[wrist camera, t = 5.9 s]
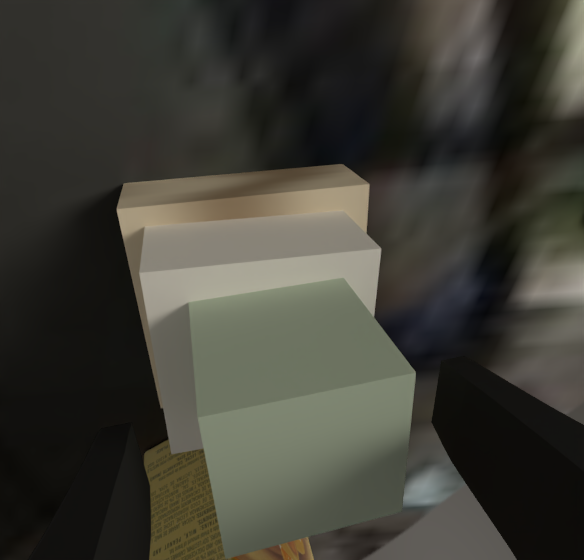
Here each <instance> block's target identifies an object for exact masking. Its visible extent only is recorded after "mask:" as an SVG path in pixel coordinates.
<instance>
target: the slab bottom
mask: <svg viewBox="0 0 584 560" xmlns="http://www.w3.org/2000/svg"><path fill="white" fill-rule="evenodd" d="M368 201H369V183H367V182H366V181H365V180H363V179H362V178H361V177H359V176H358V175H357V174H355V173H354V172H352V171H351V170H350V169H348V168H347V167H346V166H344V165H343V164H337V165H326V166H315V167H303V168H292V169H281V170H269V171H258V172H247V173H236V174H224V175H213V176H202V177H190V178H179V179H168V180H157V181H145V182H134V183H124V184H123V188H122V191H121V195H120V198H119V202H118V206H117V214H118V218H119V223H120V227H121V232H122V236H123V241H124V245H125V250H126V254H127V259H128V263H129V268H130V272H131V277H132V281H133V286H134V290H135V295H136V299H137V304H138V308H139V313H140V317H141V322H142V326H143V331H144V335H145V340H146V344H147V349H148V353H149V358H150V362H151V367H152V371H153V375H154V380H155V384H156V389H157V393H158V398H159V402H160V407H161V408H163V404H162V399H161V393H160V387H159V382H158V376H157V370H156V365H155V359H154V353H153V348H152V342H151V336H150V331H149V325H148V319H147V314H146V308H145V303H144V297H143V291H142V286H141V280H140V274H139V271H140V263H141V254H142V246H143V237H144V229H145V226H157V225H169V224H181V223H194V222H206V221H218V220H230V219H243V218H255V217H267V216H279V215H292V214H304V213H316V212H328V211H341V210H343V211H344V212H345V213H346V214H347V215H348V216H349V217H350V218H351V219H352V220H353V221H354V222H355V223H356V224H357V225H358V226H359V227H360V228H361V229H362V230H363V231H364V232H365V233H366V234H367V217H368Z"/></svg>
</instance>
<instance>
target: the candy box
mask: <svg viewBox="0 0 584 560" xmlns="http://www.w3.org/2000/svg"><path fill="white" fill-rule="evenodd" d="M144 466H145V470H146V473H147V477H148V480H149V483H150V499H151V542H150V554H149V560H314V558H313V555H312V551H311V547H310V544H309V540H308V537H306V538H302V539H298V540H295V541H291V542H287V543H283V544H280V545H276V546H272V547H269V548H265V549H261V550H257V551H254V552H250V553H246V554H243V555H239V556H235V557H231V558H228V559H225V554H224V549H223V544H222V539H221V534H220V529H219V524H218V519H217V514H216V509H215V504H214V498H213V493H212V488H211V483H210V478H209V473H208V468H207V463H206V458H205V453H204V448H203V449H198V450H193V451H187V452H182V453H176V454H171V449H170V444H169V439H168V440H166V441H164V442H162V443H160V444H159V445H157V446H155V447H153V448H151V449H149V450H148V451H146V452H145V454H144Z"/></svg>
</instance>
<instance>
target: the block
mask: <svg viewBox="0 0 584 560" xmlns="http://www.w3.org/2000/svg"><path fill="white" fill-rule="evenodd" d="M188 303H189V315H190V328H191V341H192V353H193V366H194V379H195V391H196V404H197V417H198V422H199V428H200V433H201V438H202V443H203V448H204V453H205V458H206V463H207V468H208V473H209V478H210V483H211V488H212V493H213V498H214V504H215V509H216V514H217V519H218V524H219V529H220V534H221V539H222V544H223V549H224V554H225V559H228V558H231V557H235V556H239V555H243V554H246V553H250V552H254V551H257V550H261V549H265V548H269V547H272V546H276V545H280V544H283V543H287V542H291V541H295V540H298V539H302V538H306V537H309V536H313V535H317V534H321V533H324V532H328V531H332V530H335V529H339V528H343V527H347V526H350V525H354V524H358V523H361V522H365V521H369V520H373V519H376V518H380V517H384V516H387V515H391V514H395V513H399V512H402V505H403V495H404V486H405V476H406V466H407V456H408V446H409V437H410V427H411V417H412V407H413V397H414V387H415V378H416V372H415V371H414V369H413V368H412V367H411V365H410V364H409V363H408V361H407V360H406V359H405V357H404V356H403V355H402V354H401V352H400V351H399V350H398V348H397V347H396V346H395V344H394V343H393V342H392V340H391V339H390V338H389V337H388V335H387V334H386V333H385V331H384V330H383V329H382V327H381V326H380V325H379V323H378V322H377V321H376V319H375V318H374V317H373V316H372V314H371V313H370V312H369V310H368V309H367V308H366V306H365V305H364V304H363V302H362V301H361V300H360V299H359V297H358V296H357V295H356V293H355V292H354V291H353V289H352V288H351V287H350V285H349V284H348V283H347V282H346V280H345V279H344V278H338V279H331V280H325V281H319V282H312V283H306V284H300V285H294V286H287V287H281V288H275V289H268V290H262V291H256V292H249V293H243V294H237V295H231V296H224V297H218V298H212V299H205V300H199V301H193V302H188Z"/></svg>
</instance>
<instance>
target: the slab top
mask: <svg viewBox="0 0 584 560" xmlns="http://www.w3.org/2000/svg"><path fill="white" fill-rule="evenodd" d="M380 257H381V248H380V247H379V246H378V245H377V244H376V243H375V242H374V241H373V240H372V239H371V238H370V237H369V236H368V235H367V234H366V233H365V232H364V231H363V230H362V229H361V228H360V227H359V226H358V225H357V224H356V223H355V222H354V221H353V220H352V219H351V218H350V217H349V216H348V215H347V214H346V213H345V212H344V211H343V210H341V211H328V212H316V213H304V214H292V215H279V216H267V217H255V218H243V219H230V220H218V221H206V222H194V223H181V224H169V225H157V226H145V229H144V237H143V246H142V254H141V263H140V271H139V274H140V280H141V286H142V291H143V297H144V303H145V308H146V314H147V319H148V325H149V331H150V336H151V342H152V348H153V353H154V359H155V365H156V370H157V376H158V382H159V387H160V393H161V399H162V404H163V410H164V415H165V421H166V427H167V432H168V438H169V444H170V449H171V454H176V453H182V452H187V451H193V450H198V449H203V443H202V438H201V433H200V428H199V422H198V417H197V404H196V391H195V379H194V366H193V353H192V341H191V328H190V315H189V303H188V302H193V301H199V300H205V299H212V298H218V297H224V296H231V295H237V294H243V293H249V292H256V291H262V290H268V289H275V288H281V287H287V286H294V285H300V284H306V283H312V282H319V281H325V280H331V279H338V278H344V279H345V280H346V282H347V283H348V284H349V285H350V287H351V288H352V289H353V291H354V292H355V293H356V295H357V296H358V297H359V299H360V300H361V301H362V302H363V304H364V305H365V306H366V308H367V309H368V310H369V312H370V313H371V314H372V316H373V317H374V313H375V304H376V294H377V285H378V276H379V266H380Z"/></svg>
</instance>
